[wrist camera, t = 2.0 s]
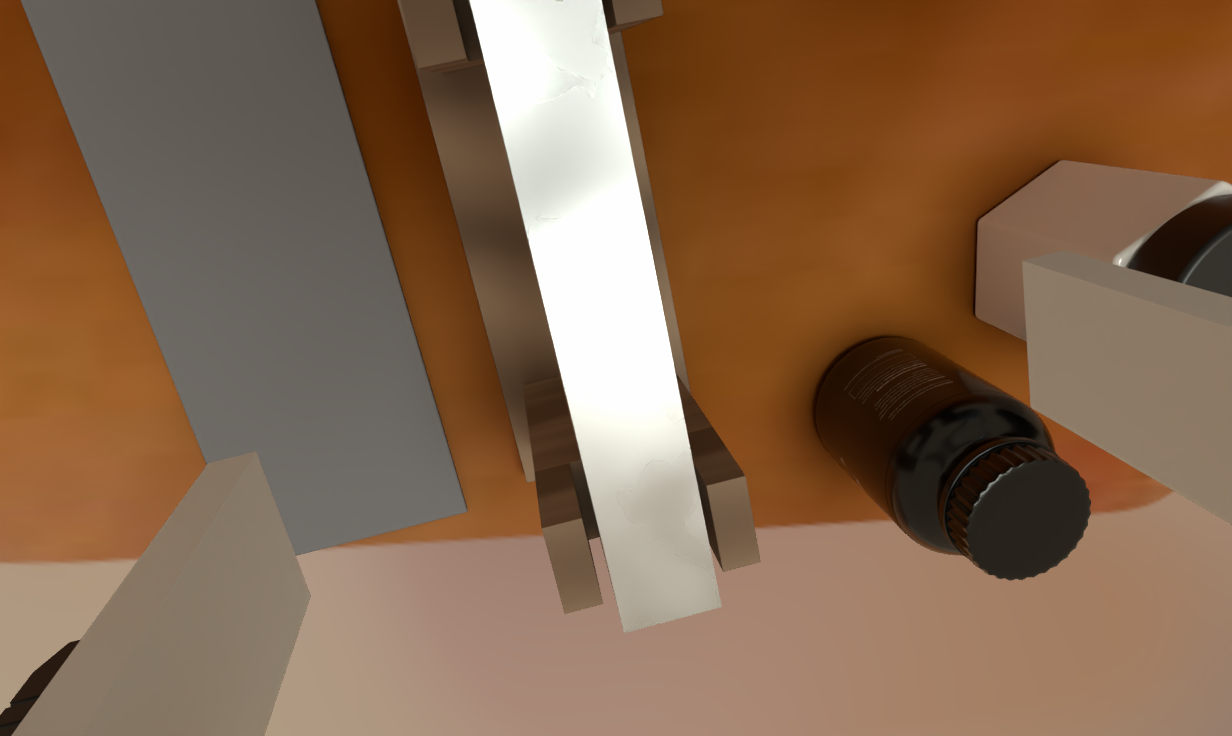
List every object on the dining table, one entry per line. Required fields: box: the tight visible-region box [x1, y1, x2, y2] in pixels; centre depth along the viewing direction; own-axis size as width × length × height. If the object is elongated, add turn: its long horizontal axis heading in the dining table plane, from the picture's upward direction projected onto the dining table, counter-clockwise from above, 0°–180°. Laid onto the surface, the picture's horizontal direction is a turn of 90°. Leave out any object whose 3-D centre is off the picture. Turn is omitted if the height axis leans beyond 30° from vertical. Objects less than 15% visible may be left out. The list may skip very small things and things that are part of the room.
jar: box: [975, 160, 1232, 342], centre depth 35 cm, size 9×8×12 cm
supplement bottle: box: [816, 337, 1091, 580], centre depth 36 cm, size 7×7×12 cm
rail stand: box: [397, 0, 760, 614], centre depth 31 cm, size 22×8×14 cm, turn 12°
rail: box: [468, 0, 721, 633], centre depth 25 cm, size 20×3×5 cm, turn 12°
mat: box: [21, 0, 467, 555], centre depth 36 cm, size 24×10×1 cm, turn 12°
